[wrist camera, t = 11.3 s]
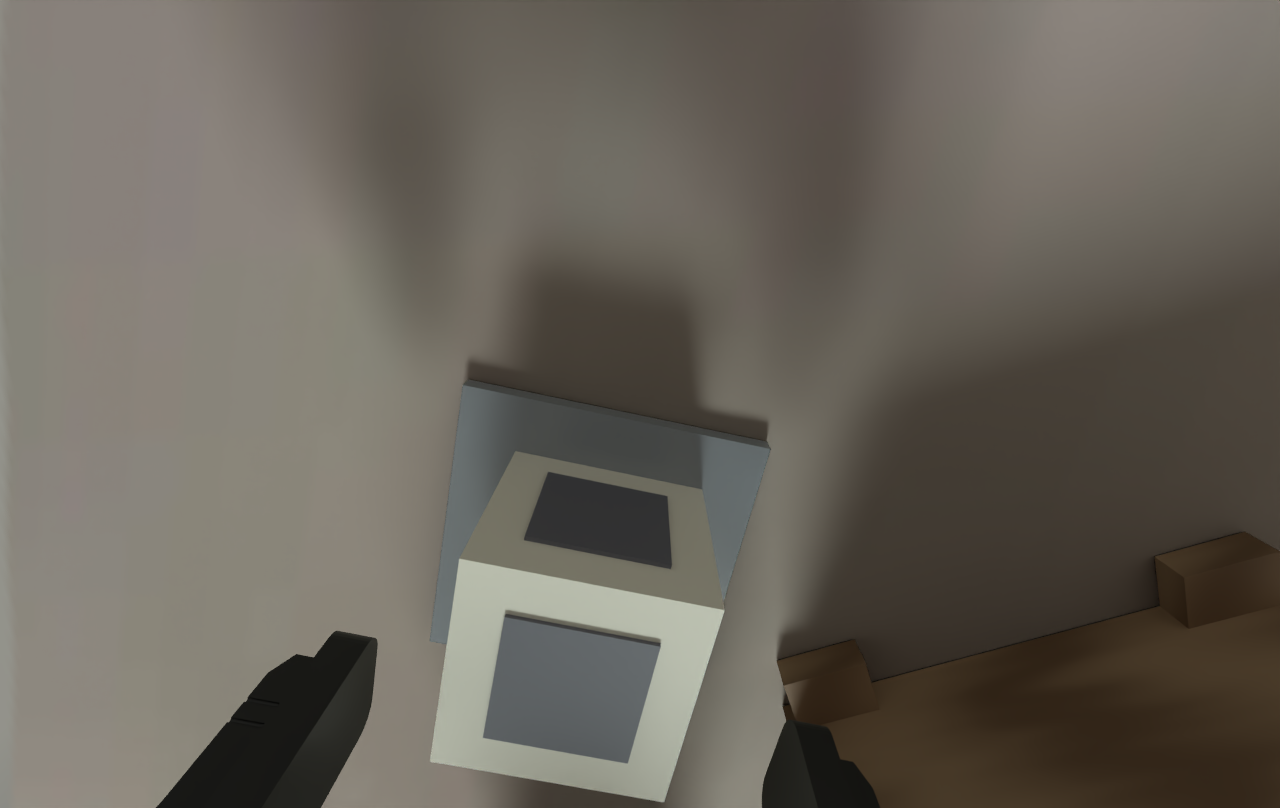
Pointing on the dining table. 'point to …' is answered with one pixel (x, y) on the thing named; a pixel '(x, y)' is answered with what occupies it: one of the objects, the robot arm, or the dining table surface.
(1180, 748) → the walnut screen
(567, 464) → the white marker cube
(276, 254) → the dining table surface
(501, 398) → the slate coaster
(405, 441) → the dining table surface
